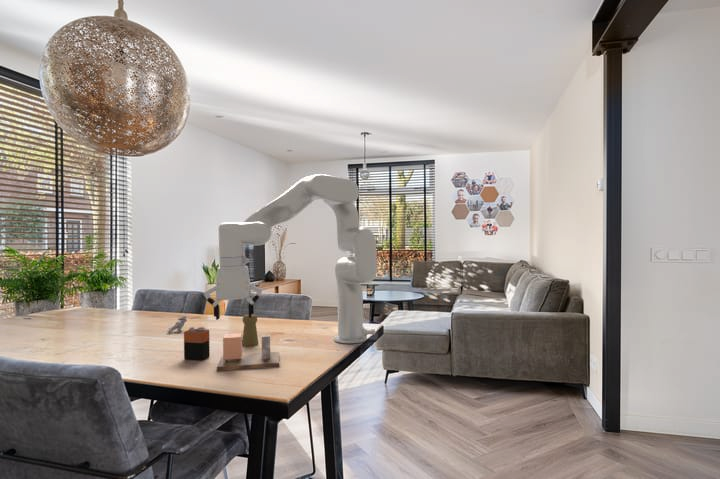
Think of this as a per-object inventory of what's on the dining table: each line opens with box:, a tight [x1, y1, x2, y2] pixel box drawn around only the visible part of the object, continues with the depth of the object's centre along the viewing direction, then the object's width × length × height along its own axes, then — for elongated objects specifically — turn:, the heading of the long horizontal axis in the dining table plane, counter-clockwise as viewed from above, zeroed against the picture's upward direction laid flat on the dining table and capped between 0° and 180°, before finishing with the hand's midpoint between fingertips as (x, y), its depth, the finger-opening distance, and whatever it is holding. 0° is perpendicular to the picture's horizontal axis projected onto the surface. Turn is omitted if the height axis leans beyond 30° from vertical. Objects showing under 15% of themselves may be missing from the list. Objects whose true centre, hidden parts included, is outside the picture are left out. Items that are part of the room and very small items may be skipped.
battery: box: [183, 326, 211, 361], centre depth 134 cm, size 4×7×10 cm, turn 79°
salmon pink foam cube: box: [222, 332, 243, 360], centre depth 127 cm, size 5×5×7 cm
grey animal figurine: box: [167, 315, 188, 334], centre depth 173 cm, size 10×6×9 cm
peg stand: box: [216, 334, 280, 372], centre depth 128 cm, size 18×12×8 cm, turn 102°
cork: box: [242, 313, 259, 348], centre depth 151 cm, size 6×6×11 cm
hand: (234, 317), depth 128 cm, fingers open, 9 cm apart
